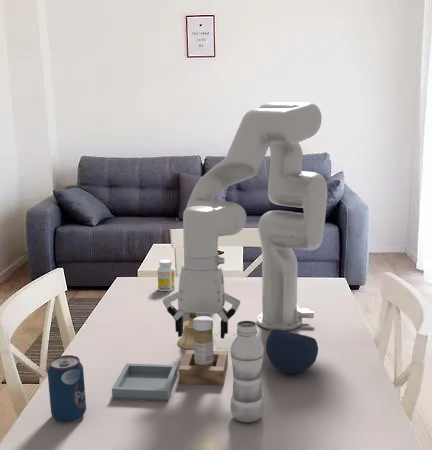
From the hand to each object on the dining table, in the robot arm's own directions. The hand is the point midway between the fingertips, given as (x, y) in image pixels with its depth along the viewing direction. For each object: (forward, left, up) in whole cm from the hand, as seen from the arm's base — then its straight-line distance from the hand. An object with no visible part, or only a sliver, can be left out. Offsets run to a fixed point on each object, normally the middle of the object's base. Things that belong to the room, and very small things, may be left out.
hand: (201, 335), depth 136 cm
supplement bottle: (+20, -59, -10) cm, 63 cm away
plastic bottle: (-11, +17, -10) cm, 23 cm away
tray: (+12, +6, -10) cm, 17 cm away
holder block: (0, -1, -10) cm, 10 cm away
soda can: (+25, +19, -10) cm, 33 cm away
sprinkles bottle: (0, -1, -10) cm, 10 cm away
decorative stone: (-20, -4, -10) cm, 23 cm away
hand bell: (+5, -18, -10) cm, 21 cm away
